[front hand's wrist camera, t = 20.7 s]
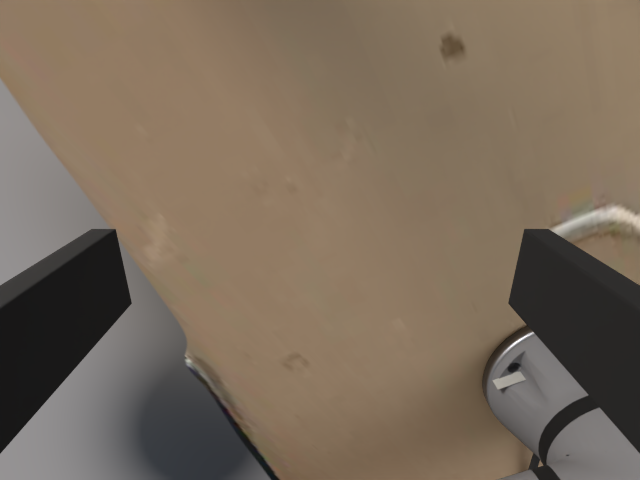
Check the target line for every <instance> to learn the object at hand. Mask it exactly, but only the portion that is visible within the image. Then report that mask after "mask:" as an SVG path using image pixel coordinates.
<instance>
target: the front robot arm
mask: <svg viewBox="0 0 640 480" xmlns="http://www.w3.org/2000/svg"><path fill="white" fill-rule="evenodd" d="M508 304H509V305H510V306H511V307H512V308H513V309H514V310H515V312H516V313H517V314H518V315H519V316H520V317H521V318H522V320H523V321H524V322H525V323H526V324H527V325H528V326H526V327H524V328H522V329H521V330H519V331H517V332H516V333H514V334H512V335H511V336H510V337H508V338H507V339H506V340H505V341H504V342H503V343H501V344H500V346H499V347H498V348H497V349H496V350H495V351H494V353H493V354H492V355H491V357H490V359H489V360H488V363H487V365H486V367H485V370H484V374H483V380H482V386H483V392H484V396H485V398H486V400H487V402H488V404H489V406H490V408H491V410H492V412H493V413H494V415H495V416H496V418H497V419H498V420H499V421H500V422H501V423H502V424H503V425H504V426H505V427H506V428H507V429H508V430H509V431H510V432H511V433H512V434H514V435H515V436H516V437H517V438H518V439H519V440H520V441H521V442H522V443H523V444H524V445H526V446H527V447H528V448H529V449H530V450H531V451H532V452H533V456H532V459H531V463H530V466H529V469H528V470H527V471H523V472H520V473H517V474H514V475H510V476H507V477H504V478H501V479H497V480H640V285H638V284H636V283H635V282H633V281H631V280H630V279H628V278H627V277H625V276H623V275H622V274H620V273H618V272H617V271H615V270H614V269H612V268H610V267H609V266H607V265H606V264H604V263H602V262H601V261H599V260H597V259H596V258H594V257H593V256H591V255H589V254H588V253H586V252H584V251H583V250H581V249H580V248H578V247H576V246H575V245H573V244H572V243H570V242H568V241H567V240H565V239H563V238H562V237H560V236H559V235H557V234H555V233H554V232H552V231H550V230H549V229H524V233H523V238H522V243H521V247H520V252H519V257H518V261H517V266H516V270H515V275H514V280H513V284H512V289H511V293H510V298H509V303H508ZM130 305H131V298H130V293H129V289H128V284H127V280H126V275H125V270H124V266H123V261H122V257H121V252H120V247H119V243H118V238H117V233H116V229H91V230H90V231H88V232H86V233H85V234H83V235H81V236H80V237H78V238H77V239H75V240H73V241H72V242H70V243H68V244H67V245H65V246H64V247H62V248H60V249H59V250H57V251H56V252H54V253H52V254H51V255H49V256H47V257H46V258H44V259H43V260H41V261H39V262H38V263H36V264H34V265H33V266H31V267H30V268H28V269H26V270H25V271H23V272H21V273H20V274H18V275H17V276H15V277H13V278H12V279H10V280H9V281H7V282H5V283H4V284H2V285H1V286H0V453H1V452H2V451H3V450H4V449H5V448H6V446H7V445H8V444H9V443H10V442H11V441H12V439H13V438H14V437H15V436H16V435H17V434H18V433H19V431H20V430H21V429H22V428H23V427H24V426H25V425H26V423H27V422H28V421H29V420H30V419H31V418H32V417H33V416H34V414H35V413H36V412H37V411H38V410H39V409H40V408H41V406H42V405H43V404H44V403H45V402H46V401H47V400H48V398H49V397H50V396H51V395H52V394H53V393H54V391H55V390H56V389H57V388H58V387H59V386H60V385H61V384H62V382H63V381H64V380H65V379H66V378H67V377H68V376H69V374H70V373H71V372H72V371H73V370H74V369H75V368H76V366H77V365H78V364H79V363H80V362H81V361H82V359H83V358H84V357H85V356H86V355H87V354H88V353H89V351H90V350H91V349H92V348H93V347H94V346H95V345H96V343H97V342H98V341H99V340H100V339H101V338H102V337H103V335H104V334H105V333H106V332H107V331H108V330H109V329H110V328H111V326H112V325H113V324H114V323H115V322H116V321H117V320H118V318H119V317H120V316H121V315H122V314H123V313H124V312H125V310H126V309H127V308H128V307H129V306H130ZM540 460H541V462H542V463H543V465H544V466H541V467H538V464H539V461H540Z"/></svg>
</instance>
